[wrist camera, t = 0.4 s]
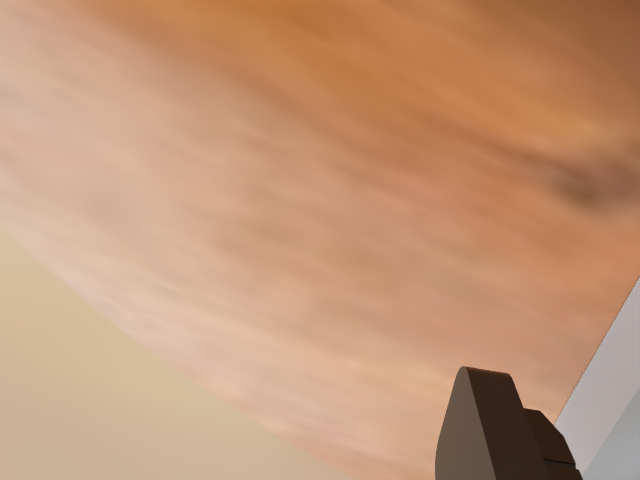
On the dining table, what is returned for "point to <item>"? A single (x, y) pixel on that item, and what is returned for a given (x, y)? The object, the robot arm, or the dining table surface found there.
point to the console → (608, 403)
